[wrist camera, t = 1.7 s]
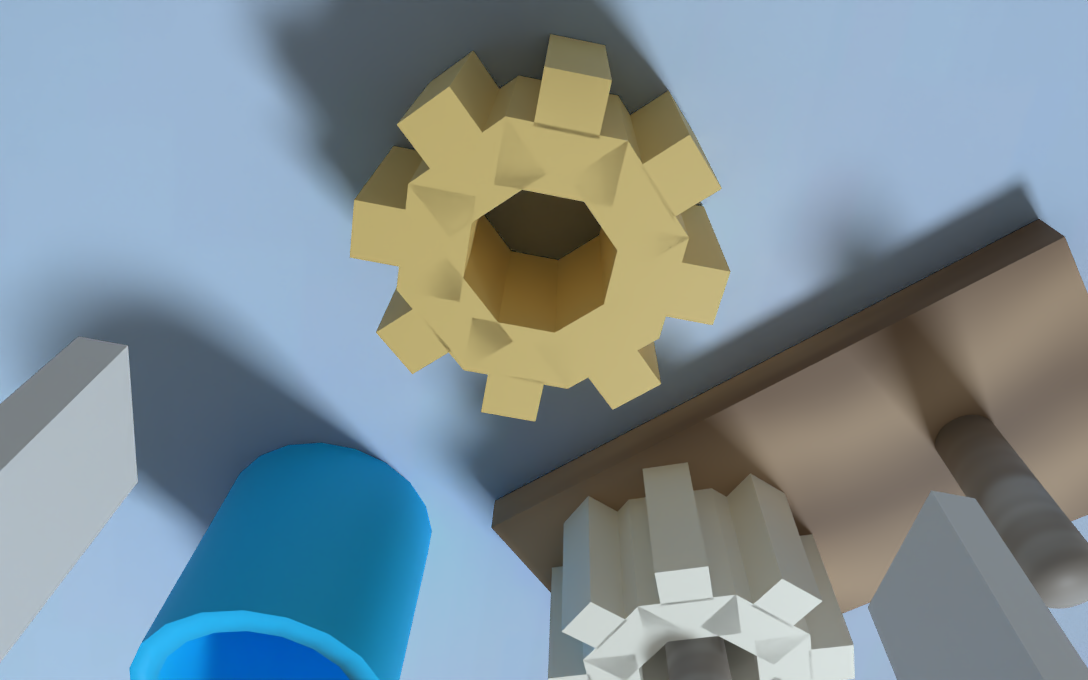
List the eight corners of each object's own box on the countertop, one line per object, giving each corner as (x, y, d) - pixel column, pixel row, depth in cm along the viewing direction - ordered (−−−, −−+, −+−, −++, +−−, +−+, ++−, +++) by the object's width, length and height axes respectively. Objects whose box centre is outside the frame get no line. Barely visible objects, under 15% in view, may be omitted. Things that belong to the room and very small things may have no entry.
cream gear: (505, 588, 31) (493, 700, 27) (657, 418, 27) (672, 518, 23) (702, 686, 34) (721, 803, 29) (869, 543, 30) (920, 654, 25)
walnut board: (494, 501, 31) (471, 675, 24) (1039, 219, 25) (1219, 344, 18) (640, 664, 35) (656, 852, 28) (1137, 457, 29) (1314, 634, 22)
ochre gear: (326, 158, 25) (273, 214, 20) (592, -38, 22) (597, -21, 18) (509, 383, 29) (497, 471, 24) (757, 242, 26) (795, 312, 21)
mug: (214, 435, 30) (102, 602, 23) (429, 447, 30) (384, 618, 23) (255, 652, 36) (176, 839, 29) (436, 663, 36) (401, 853, 29)
